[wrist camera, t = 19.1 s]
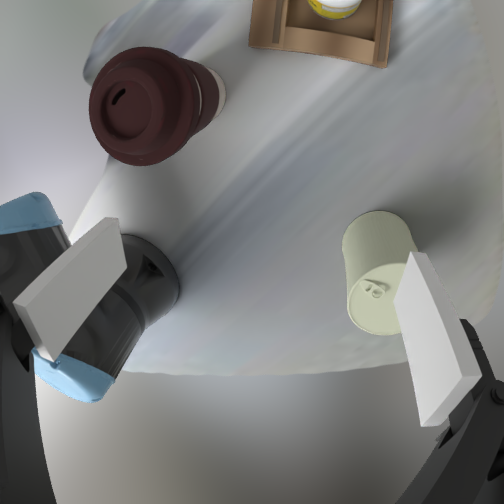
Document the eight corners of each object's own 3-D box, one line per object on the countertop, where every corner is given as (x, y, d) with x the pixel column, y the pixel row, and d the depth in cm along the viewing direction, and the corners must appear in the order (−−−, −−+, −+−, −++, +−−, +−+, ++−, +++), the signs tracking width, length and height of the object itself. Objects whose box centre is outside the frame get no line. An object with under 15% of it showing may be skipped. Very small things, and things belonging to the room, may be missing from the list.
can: (372, 196, 34) (392, 246, 24) (424, 237, 35) (454, 296, 25) (327, 250, 39) (327, 314, 29) (379, 285, 40) (391, 350, 30)
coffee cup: (242, 131, 33) (194, 166, 21) (165, 139, 36) (89, 178, 23) (234, 48, 28) (176, 30, 16) (154, 64, 31) (68, 67, 18)
